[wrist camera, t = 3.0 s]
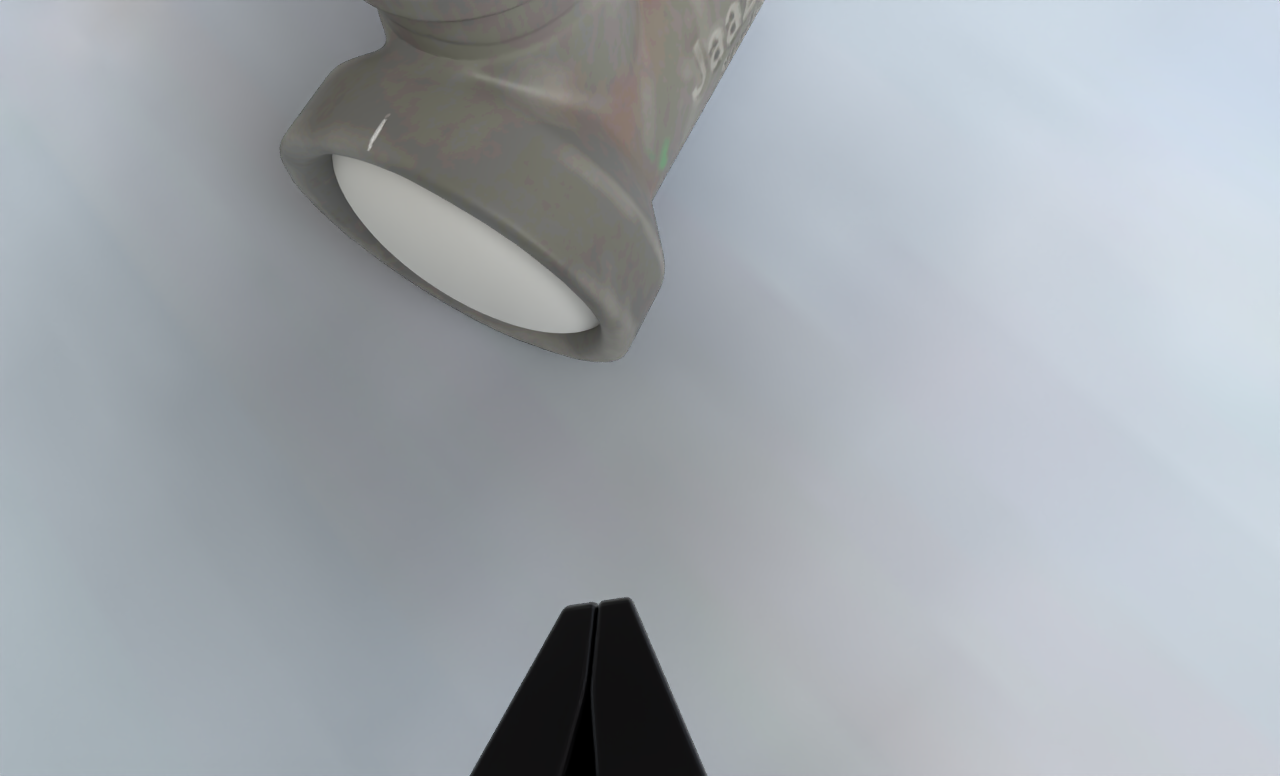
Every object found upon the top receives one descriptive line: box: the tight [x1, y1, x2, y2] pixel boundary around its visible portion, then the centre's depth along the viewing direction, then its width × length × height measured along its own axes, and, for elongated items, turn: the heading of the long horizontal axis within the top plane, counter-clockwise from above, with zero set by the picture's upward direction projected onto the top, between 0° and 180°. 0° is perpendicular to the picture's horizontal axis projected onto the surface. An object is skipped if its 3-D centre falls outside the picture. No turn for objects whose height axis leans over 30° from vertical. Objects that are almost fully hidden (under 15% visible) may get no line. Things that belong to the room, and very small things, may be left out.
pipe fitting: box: [280, 0, 764, 362], centre depth 17 cm, size 12×8×10 cm
